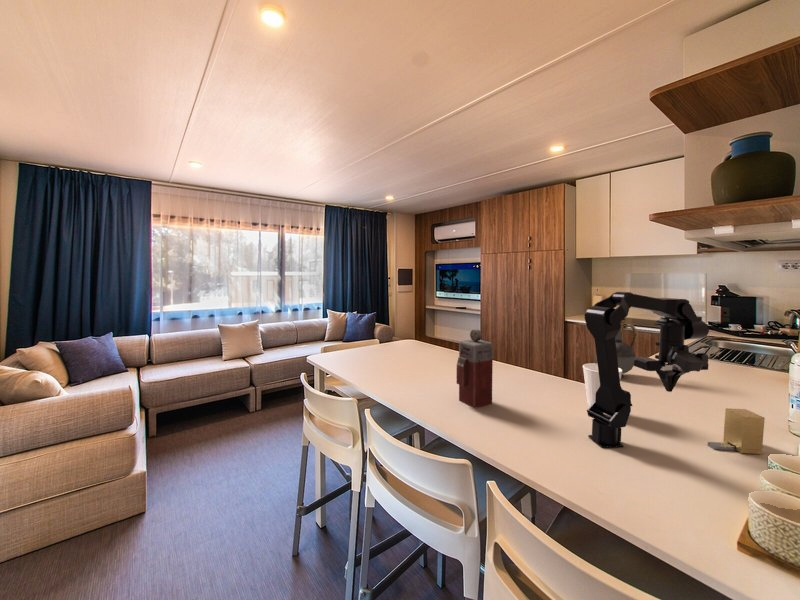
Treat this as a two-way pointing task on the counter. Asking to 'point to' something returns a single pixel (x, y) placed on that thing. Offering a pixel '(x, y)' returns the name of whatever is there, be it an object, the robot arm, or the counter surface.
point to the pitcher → (624, 349)
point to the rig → (722, 446)
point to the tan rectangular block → (744, 430)
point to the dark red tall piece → (475, 371)
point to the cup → (593, 381)
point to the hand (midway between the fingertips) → (668, 391)
